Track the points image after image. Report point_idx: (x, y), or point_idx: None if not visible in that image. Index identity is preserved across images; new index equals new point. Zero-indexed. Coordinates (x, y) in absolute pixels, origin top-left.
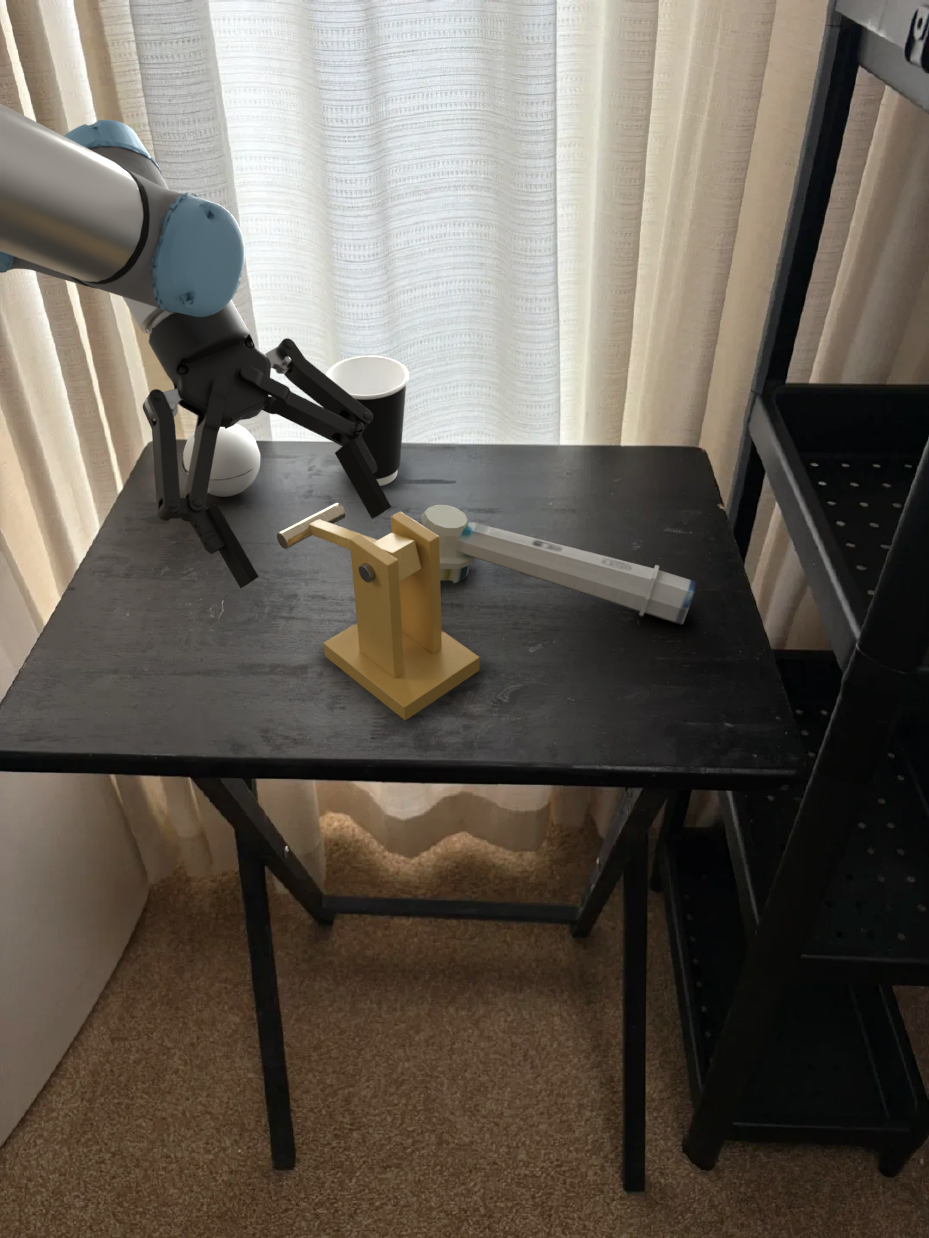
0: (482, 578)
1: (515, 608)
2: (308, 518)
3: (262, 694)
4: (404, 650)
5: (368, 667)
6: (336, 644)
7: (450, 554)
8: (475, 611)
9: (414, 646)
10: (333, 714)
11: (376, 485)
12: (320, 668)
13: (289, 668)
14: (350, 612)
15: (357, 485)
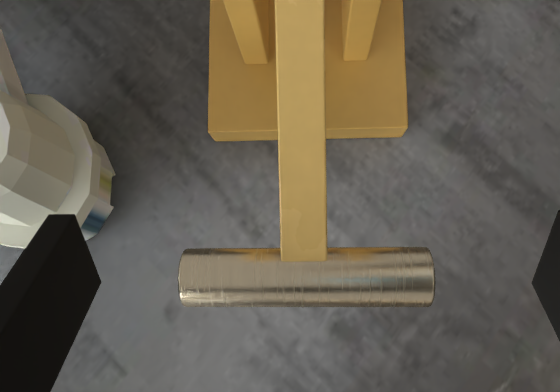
0: None
1: (56, 7)
2: (308, 284)
3: (553, 133)
4: None
5: (383, 14)
6: (390, 105)
7: (44, 115)
8: (111, 47)
9: None
10: (478, 10)
11: (20, 271)
12: (427, 117)
13: (473, 156)
14: None
15: (51, 353)
